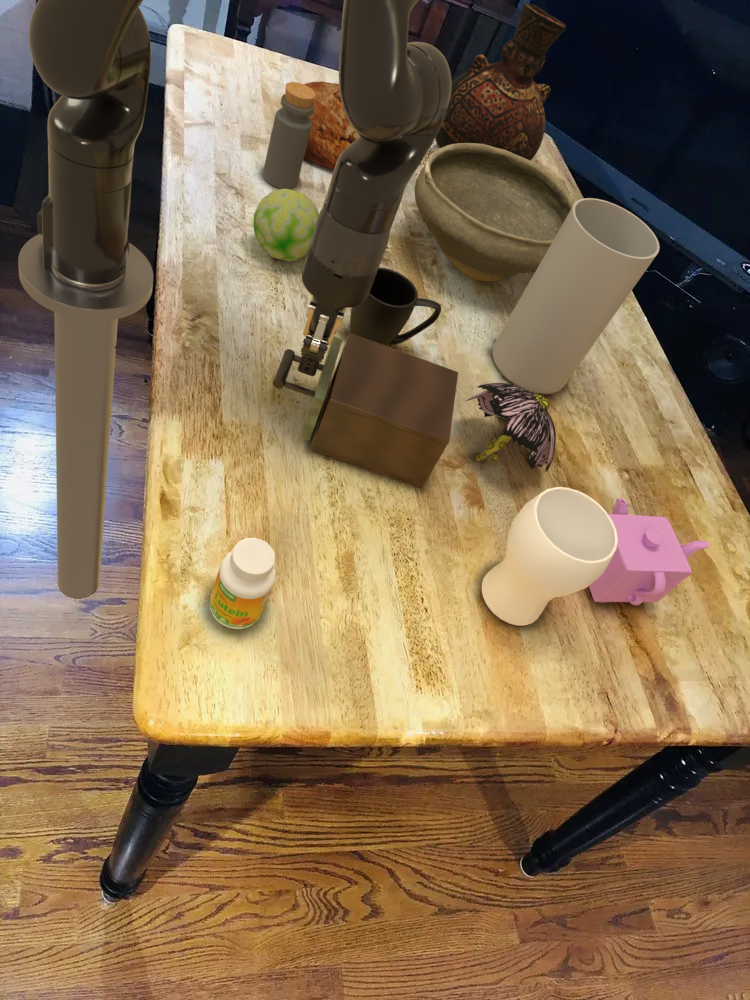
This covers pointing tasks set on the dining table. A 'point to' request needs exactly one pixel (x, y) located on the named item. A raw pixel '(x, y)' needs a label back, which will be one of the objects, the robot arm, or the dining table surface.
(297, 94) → the bottle
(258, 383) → the dining table surface
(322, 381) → the drawer
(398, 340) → the mug
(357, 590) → the dining table surface
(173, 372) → the dining table surface
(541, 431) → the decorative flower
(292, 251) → the decorative ball
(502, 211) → the bowl
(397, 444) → the cabinet
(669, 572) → the teapot
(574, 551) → the cup
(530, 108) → the ceramic vessel
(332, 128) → the bread
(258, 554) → the supplement bottle
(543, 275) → the cylinder vase
